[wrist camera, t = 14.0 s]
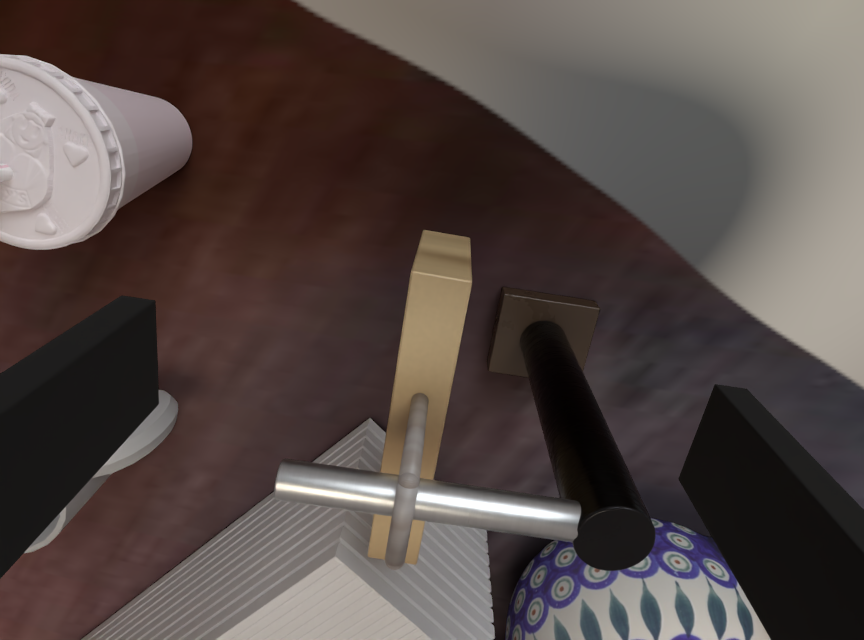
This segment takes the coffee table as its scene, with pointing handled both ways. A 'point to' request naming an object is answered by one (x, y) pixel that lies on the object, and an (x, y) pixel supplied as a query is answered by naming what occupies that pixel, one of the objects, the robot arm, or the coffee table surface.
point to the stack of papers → (317, 577)
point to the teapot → (634, 595)
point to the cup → (118, 462)
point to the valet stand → (565, 438)
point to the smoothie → (77, 152)
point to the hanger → (422, 387)
